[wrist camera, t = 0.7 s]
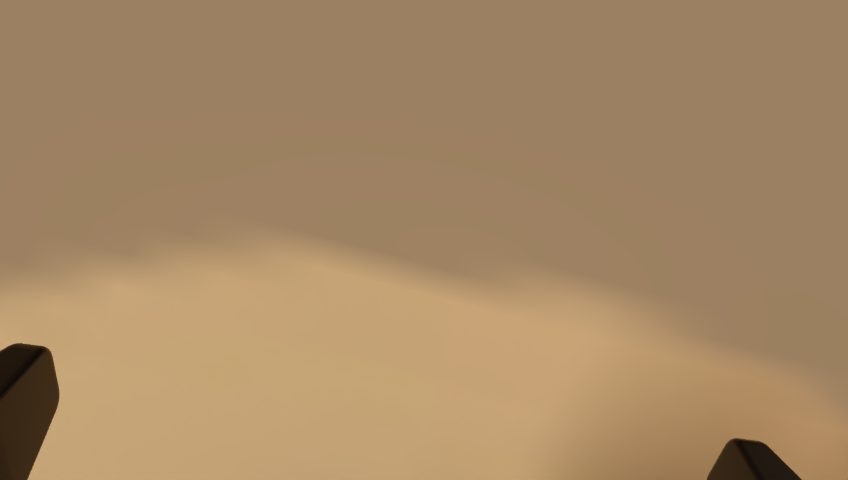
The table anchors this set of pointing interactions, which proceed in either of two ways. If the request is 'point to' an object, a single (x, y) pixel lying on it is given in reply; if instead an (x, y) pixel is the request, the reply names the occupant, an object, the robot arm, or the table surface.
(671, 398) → the table surface
